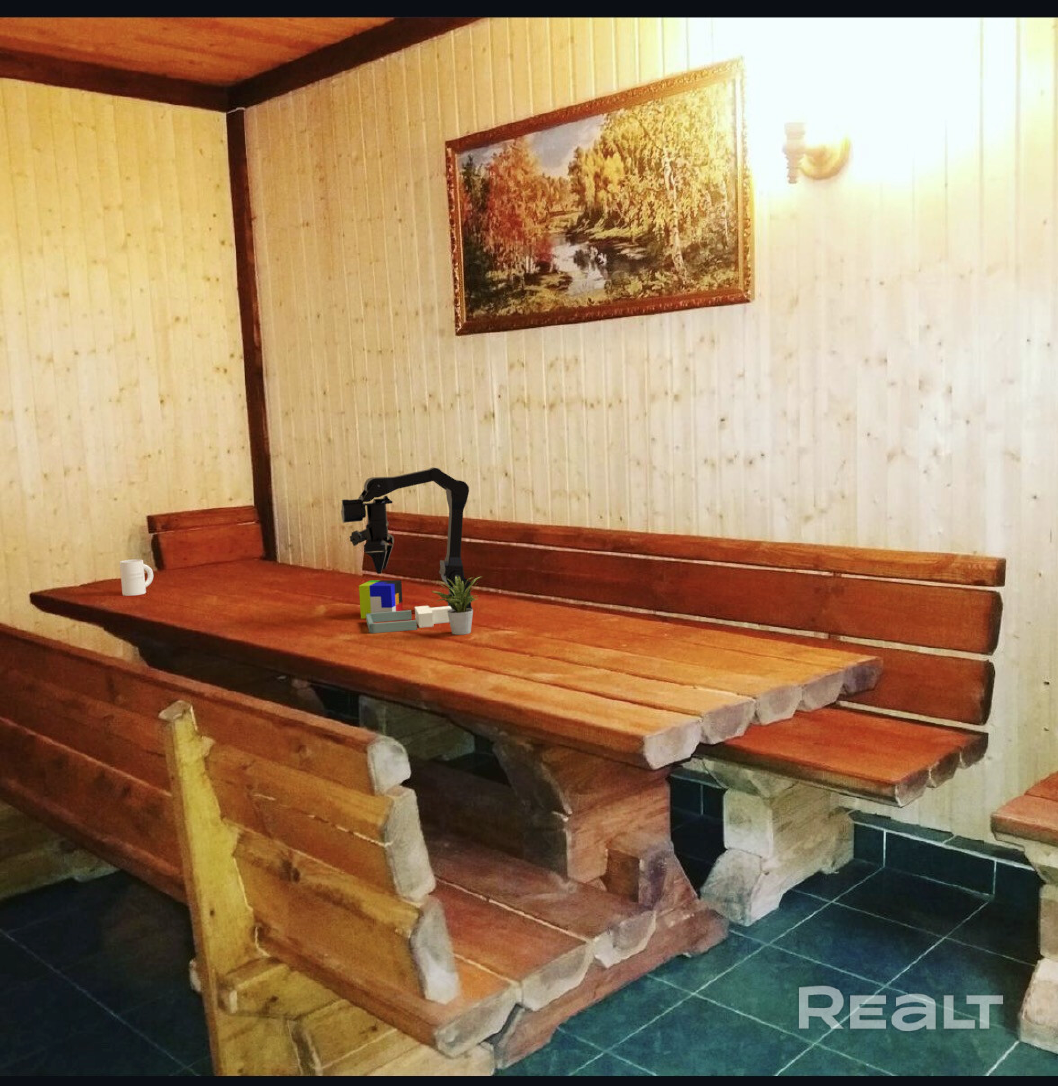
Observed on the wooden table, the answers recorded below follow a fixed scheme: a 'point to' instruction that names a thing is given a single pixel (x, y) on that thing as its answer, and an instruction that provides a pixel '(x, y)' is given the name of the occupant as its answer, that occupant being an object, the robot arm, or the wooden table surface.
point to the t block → (431, 615)
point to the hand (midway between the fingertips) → (381, 571)
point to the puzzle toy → (380, 596)
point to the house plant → (459, 606)
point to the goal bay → (390, 625)
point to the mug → (134, 577)
